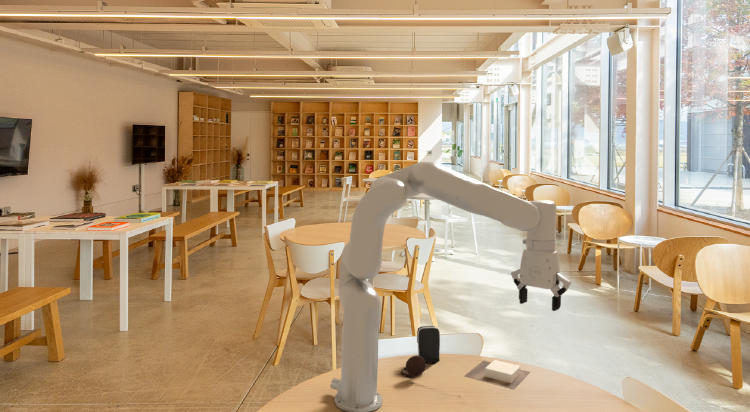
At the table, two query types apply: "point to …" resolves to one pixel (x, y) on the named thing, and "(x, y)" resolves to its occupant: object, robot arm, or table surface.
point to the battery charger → (428, 343)
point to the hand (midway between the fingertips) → (539, 306)
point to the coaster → (502, 371)
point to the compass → (413, 367)
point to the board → (479, 374)
